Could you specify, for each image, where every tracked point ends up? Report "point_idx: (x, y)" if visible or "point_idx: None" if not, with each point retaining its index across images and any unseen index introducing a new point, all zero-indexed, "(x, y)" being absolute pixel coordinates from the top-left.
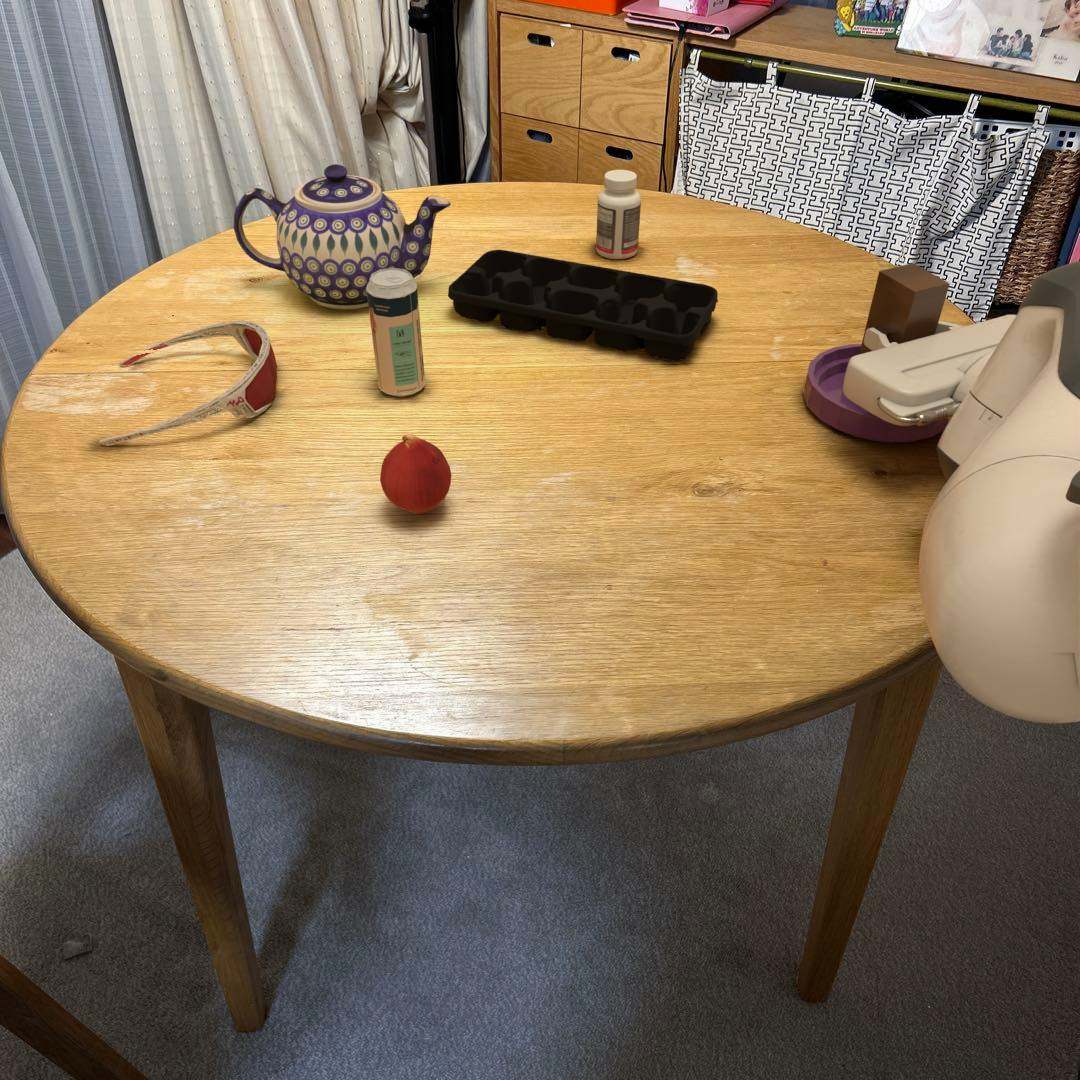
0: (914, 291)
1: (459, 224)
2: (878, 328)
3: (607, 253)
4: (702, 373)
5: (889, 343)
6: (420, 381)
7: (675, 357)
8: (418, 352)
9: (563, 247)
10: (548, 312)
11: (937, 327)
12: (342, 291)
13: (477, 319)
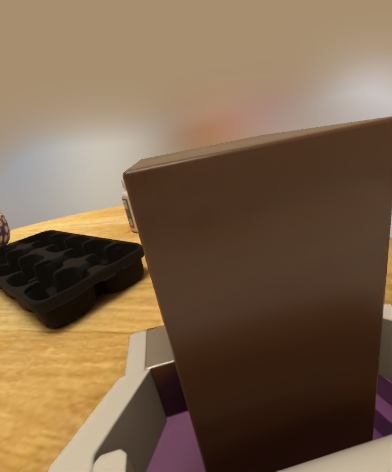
0: (124, 172)
1: (88, 221)
2: (157, 335)
3: (132, 228)
4: (58, 349)
5: (87, 461)
6: None
7: (48, 324)
8: None
9: (119, 227)
10: None
11: (389, 334)
12: None
13: None
